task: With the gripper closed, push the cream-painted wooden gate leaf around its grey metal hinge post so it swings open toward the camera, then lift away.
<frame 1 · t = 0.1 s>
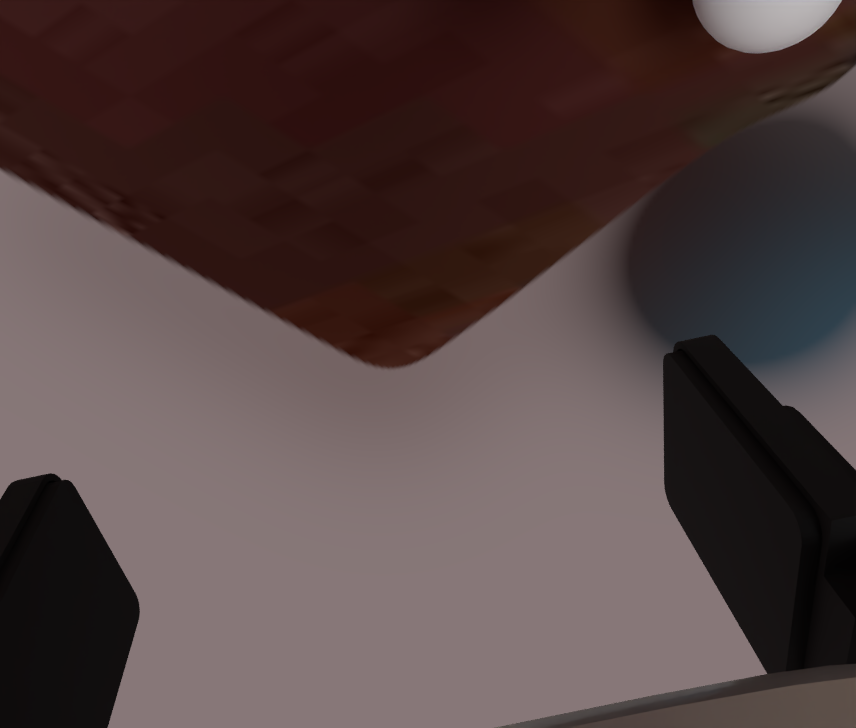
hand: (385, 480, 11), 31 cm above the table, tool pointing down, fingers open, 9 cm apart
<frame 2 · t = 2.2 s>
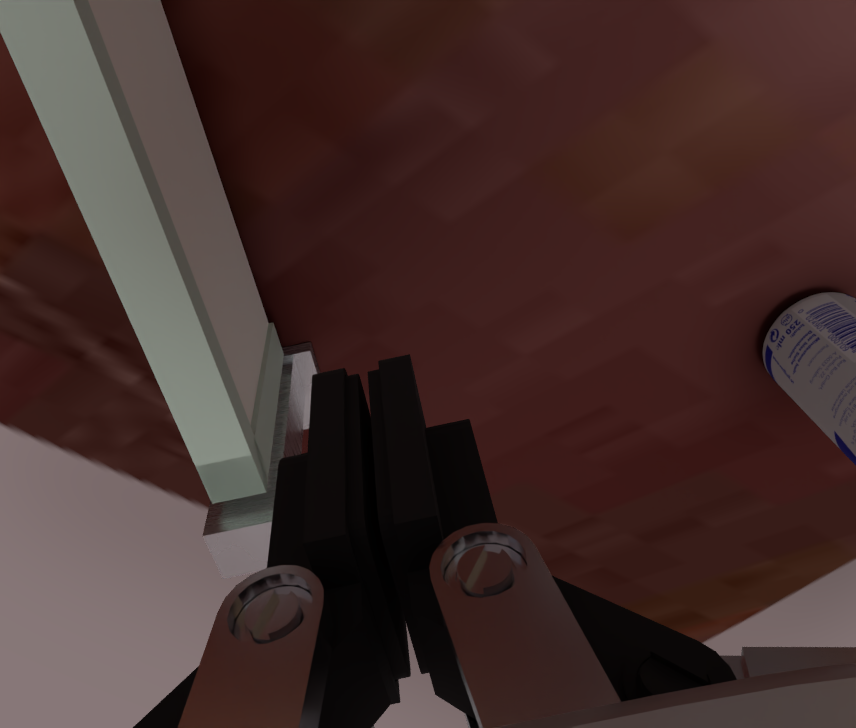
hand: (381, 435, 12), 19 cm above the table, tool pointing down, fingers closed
gate leaf: (158, 168, 23), point 6 cm above the table, hinge at 0.0°
beverage can: (803, 330, 35), on the table
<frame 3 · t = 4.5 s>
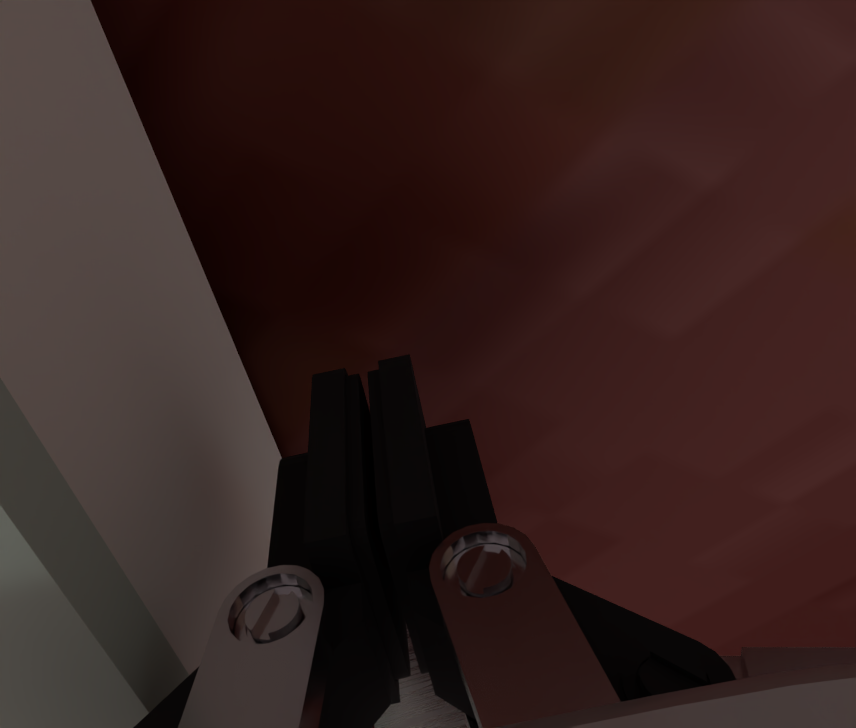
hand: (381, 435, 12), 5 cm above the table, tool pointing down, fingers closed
gate leaf: (126, 420, 12), point 5 cm above the table, hinge at -6.7°, touching gripper
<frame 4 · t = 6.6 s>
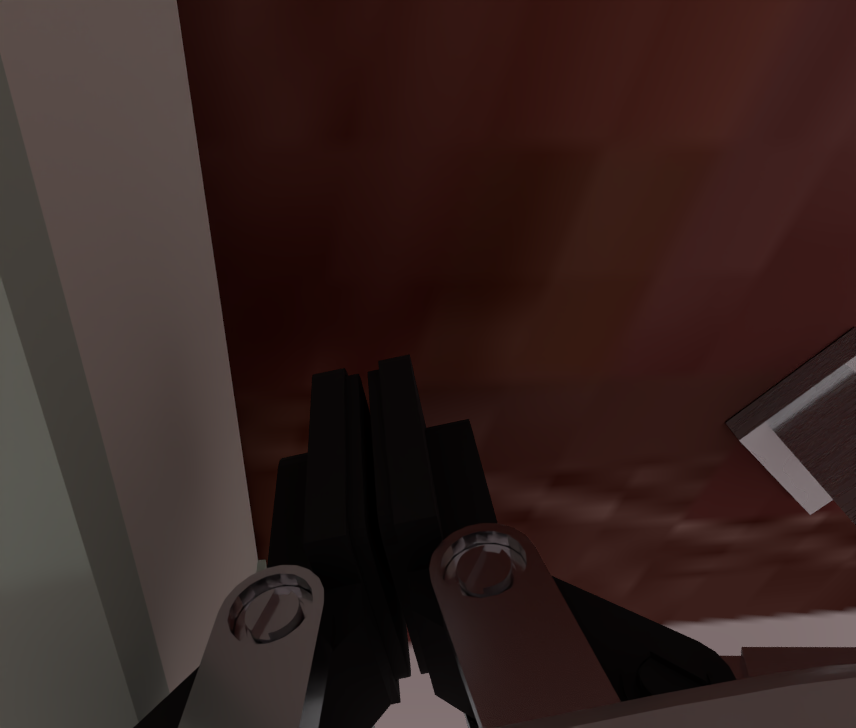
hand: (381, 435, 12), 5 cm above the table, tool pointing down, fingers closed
gate leaf: (128, 395, 11), point 6 cm above the table, hinge at -45.0°, touching gripper
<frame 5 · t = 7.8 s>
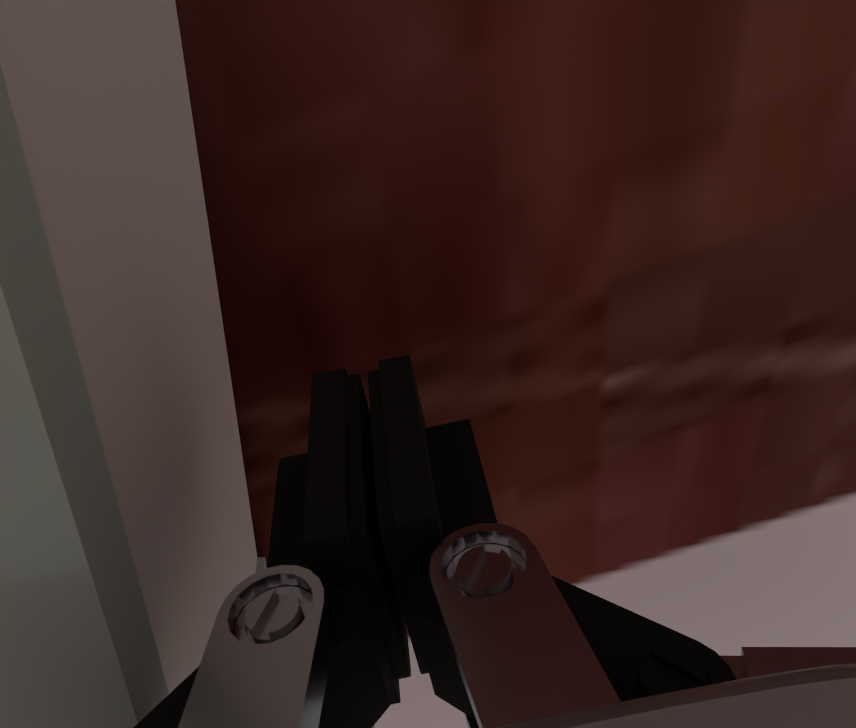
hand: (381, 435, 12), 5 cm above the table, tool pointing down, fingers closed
gate leaf: (125, 390, 11), point 6 cm above the table, hinge at -65.2°, touching gripper
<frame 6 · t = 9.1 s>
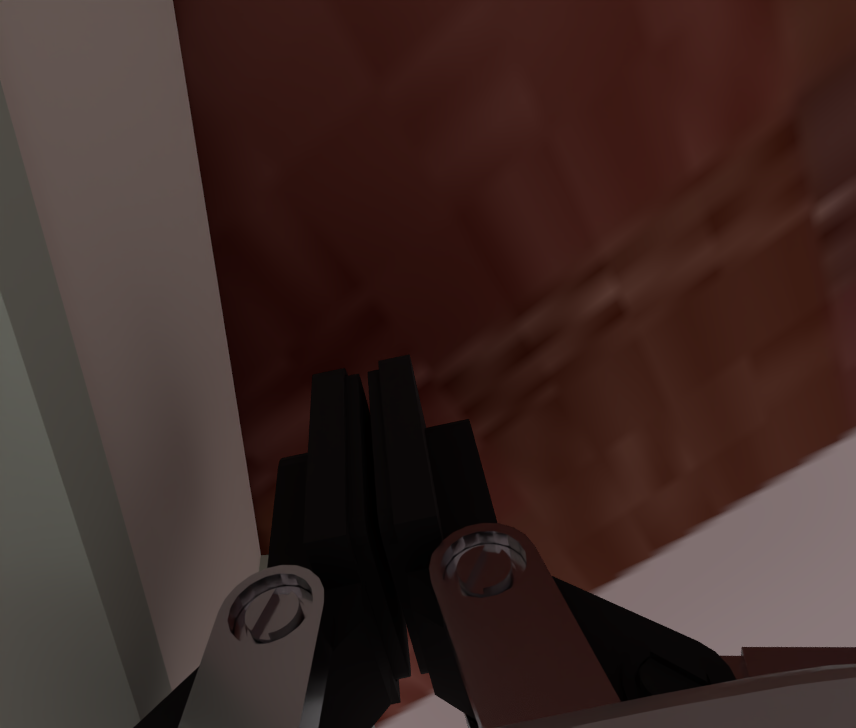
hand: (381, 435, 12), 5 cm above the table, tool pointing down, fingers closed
gate leaf: (126, 386, 11), point 6 cm above the table, hinge at -85.1°, touching gripper
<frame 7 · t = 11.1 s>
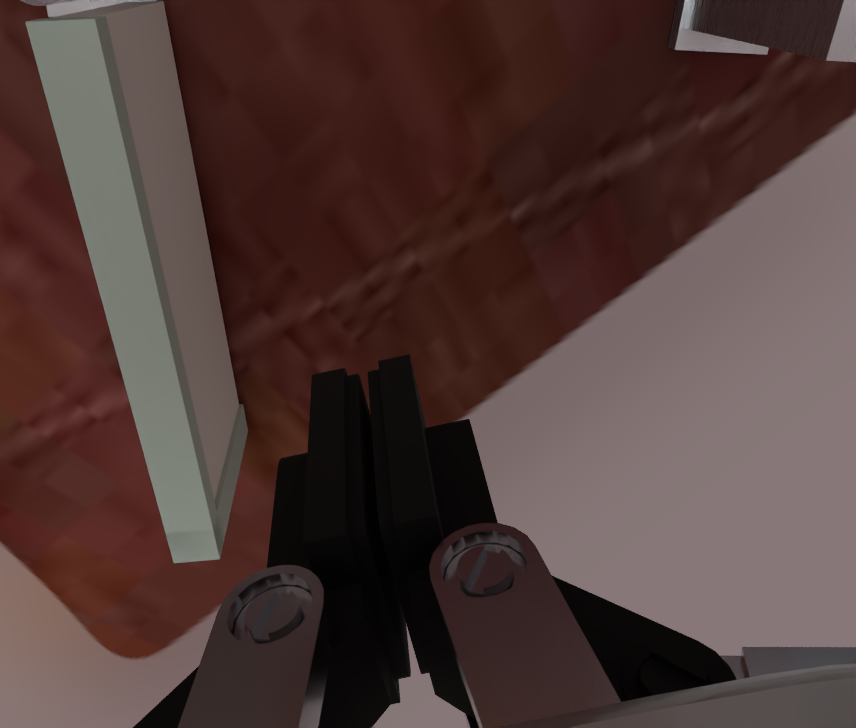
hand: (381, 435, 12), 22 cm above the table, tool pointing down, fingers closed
gate leaf: (171, 290, 28), point 6 cm above the table, hinge at -85.1°
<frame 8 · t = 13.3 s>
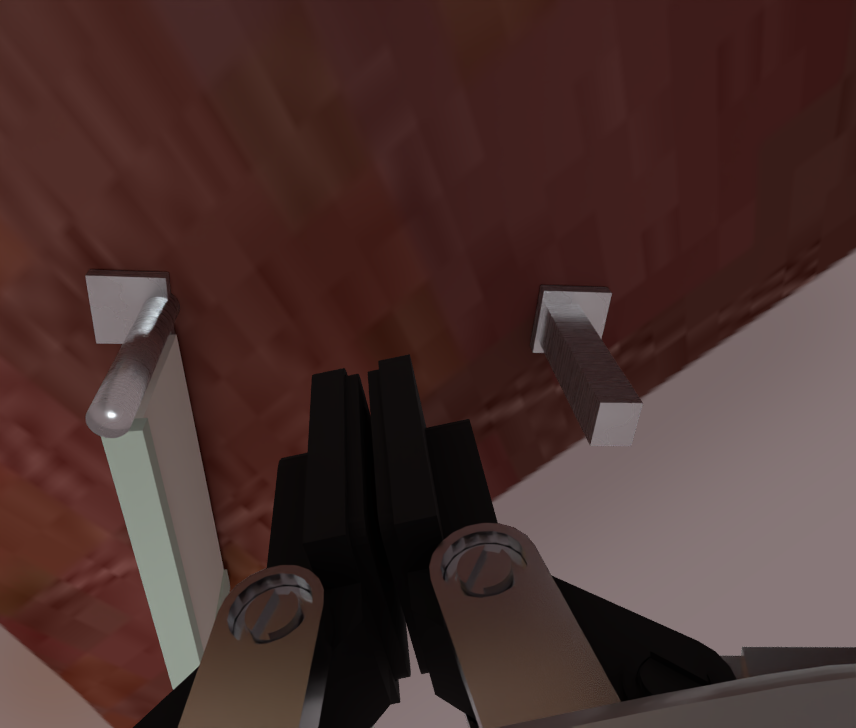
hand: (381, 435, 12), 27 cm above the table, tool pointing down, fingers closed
gate posts: (162, 305, 40), on the table
gate leaf: (179, 526, 41), point 5 cm above the table, hinge at -85.1°
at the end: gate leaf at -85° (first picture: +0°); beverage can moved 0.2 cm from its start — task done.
